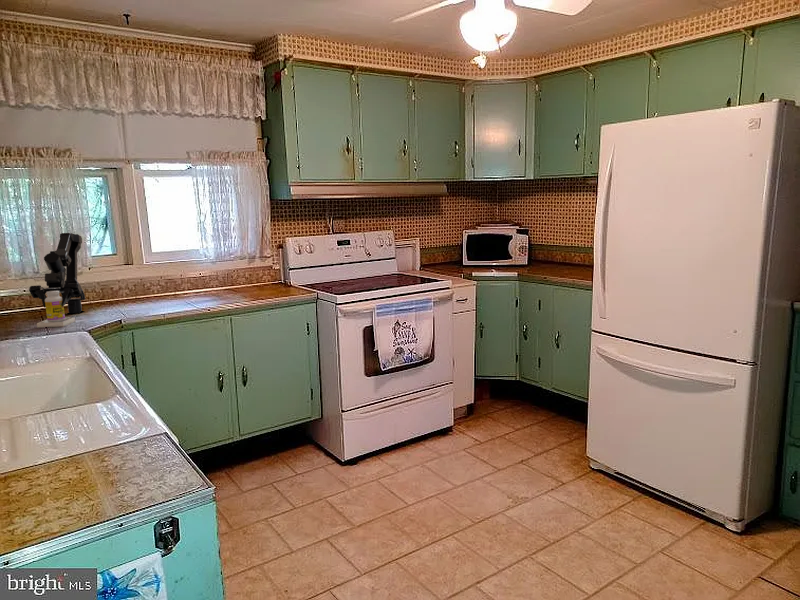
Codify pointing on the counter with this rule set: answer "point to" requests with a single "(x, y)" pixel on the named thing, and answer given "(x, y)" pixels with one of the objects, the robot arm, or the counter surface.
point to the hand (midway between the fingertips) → (53, 306)
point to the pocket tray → (55, 323)
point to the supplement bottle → (54, 307)
